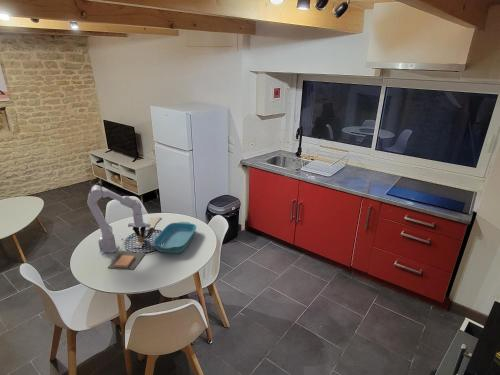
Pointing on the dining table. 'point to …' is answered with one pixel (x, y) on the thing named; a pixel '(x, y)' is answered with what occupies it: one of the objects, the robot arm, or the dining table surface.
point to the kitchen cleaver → (152, 224)
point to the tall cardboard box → (140, 240)
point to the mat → (134, 263)
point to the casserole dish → (175, 237)
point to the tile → (124, 261)
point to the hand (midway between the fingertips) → (140, 236)
